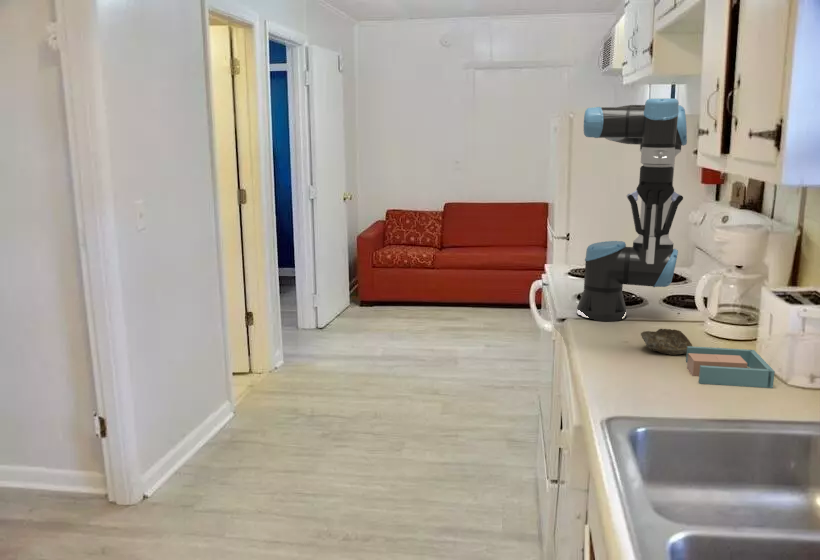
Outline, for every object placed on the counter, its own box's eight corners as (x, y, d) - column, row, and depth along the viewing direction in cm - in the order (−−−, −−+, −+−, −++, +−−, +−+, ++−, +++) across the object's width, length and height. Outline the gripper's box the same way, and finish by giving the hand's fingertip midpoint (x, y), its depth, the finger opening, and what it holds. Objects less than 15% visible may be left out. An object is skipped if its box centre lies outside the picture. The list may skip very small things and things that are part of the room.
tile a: (712, 369, 176) (713, 354, 176) (737, 371, 176) (739, 355, 175) (719, 378, 171) (720, 362, 170) (745, 379, 170) (747, 363, 169)
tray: (685, 361, 182) (687, 346, 181) (752, 365, 179) (754, 349, 178) (699, 383, 166) (701, 367, 165) (772, 388, 164) (774, 371, 163)
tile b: (686, 368, 177) (688, 353, 176) (712, 370, 176) (713, 354, 175) (692, 376, 171) (694, 360, 170) (718, 378, 170) (720, 362, 170)
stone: (647, 350, 184) (643, 321, 188) (638, 361, 191) (634, 333, 195) (696, 351, 184) (691, 323, 188) (685, 362, 192) (681, 334, 195)
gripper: (630, 166, 168) (624, 265, 173) (689, 166, 166) (680, 266, 171) (626, 163, 175) (620, 258, 180) (682, 164, 173) (674, 260, 178)
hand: (649, 262), depth 176 cm, fingers closed
